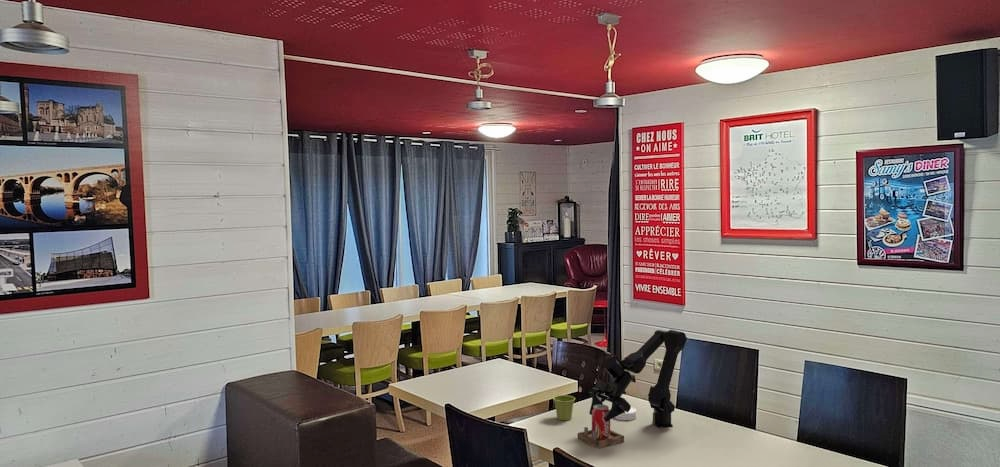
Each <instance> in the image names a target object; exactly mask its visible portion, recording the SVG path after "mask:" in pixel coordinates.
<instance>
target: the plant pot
mask: <svg viewBox="0 0 1000 467" xmlns="http://www.w3.org/2000/svg"><path fill="white" fill-rule="evenodd" d="M552 400H553V401H554V402H553V403H554V406H555V411H556V418H557V420H559V421H561V420H563V421H570V420H571V419H573V418H572V417H573V409H574V408H573V407H574V403H575V400H576V397H574V396H573V395H566V394H564V395H563V394H561V395H560V394H559V395H556V396H554V397H553V398H552Z"/></svg>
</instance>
